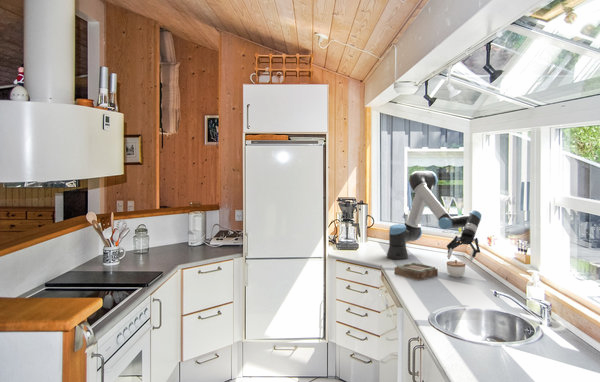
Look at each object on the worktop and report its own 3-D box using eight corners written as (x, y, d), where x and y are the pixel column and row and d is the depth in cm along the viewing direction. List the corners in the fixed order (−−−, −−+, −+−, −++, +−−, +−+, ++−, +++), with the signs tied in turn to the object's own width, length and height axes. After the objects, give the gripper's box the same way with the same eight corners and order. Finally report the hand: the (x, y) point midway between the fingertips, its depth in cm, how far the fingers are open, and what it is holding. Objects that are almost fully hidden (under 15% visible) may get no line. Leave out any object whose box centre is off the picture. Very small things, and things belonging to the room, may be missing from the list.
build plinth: (413, 269, 273) (413, 261, 273) (437, 275, 259) (437, 267, 259) (394, 273, 263) (394, 265, 263) (418, 280, 248) (418, 271, 248)
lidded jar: (466, 278, 252) (467, 262, 251) (447, 277, 254) (447, 261, 253) (463, 273, 262) (463, 258, 262) (445, 273, 264) (445, 258, 264)
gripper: (448, 226, 276) (437, 253, 266) (488, 229, 259) (478, 258, 249) (451, 233, 280) (441, 260, 270) (491, 237, 263) (481, 265, 253)
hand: (459, 259), depth 260 cm, fingers open, 13 cm apart
